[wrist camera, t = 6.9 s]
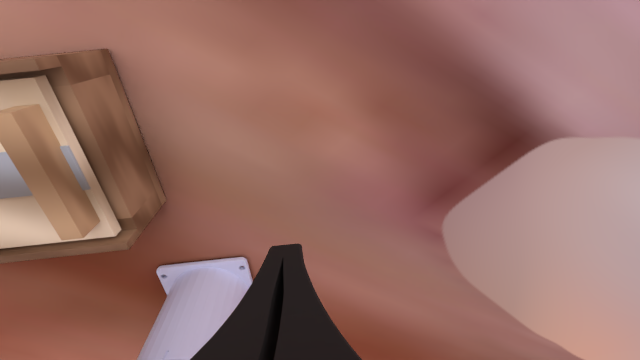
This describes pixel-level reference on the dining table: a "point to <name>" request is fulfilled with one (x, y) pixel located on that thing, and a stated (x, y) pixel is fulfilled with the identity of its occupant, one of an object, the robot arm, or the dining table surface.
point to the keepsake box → (96, 146)
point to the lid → (45, 172)
